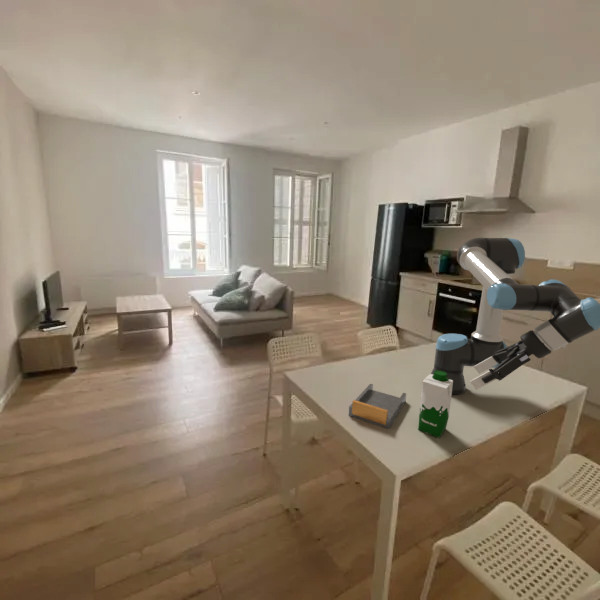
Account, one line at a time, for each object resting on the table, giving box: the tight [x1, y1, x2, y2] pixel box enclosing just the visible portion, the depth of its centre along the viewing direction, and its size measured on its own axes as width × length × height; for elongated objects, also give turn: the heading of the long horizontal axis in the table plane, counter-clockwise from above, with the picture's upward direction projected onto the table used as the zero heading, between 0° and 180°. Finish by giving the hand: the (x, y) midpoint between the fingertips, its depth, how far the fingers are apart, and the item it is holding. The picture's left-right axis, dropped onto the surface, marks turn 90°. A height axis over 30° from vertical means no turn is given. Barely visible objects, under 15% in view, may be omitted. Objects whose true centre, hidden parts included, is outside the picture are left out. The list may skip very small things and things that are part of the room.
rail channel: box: [348, 383, 407, 430], centre depth 122 cm, size 22×15×6 cm
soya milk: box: [417, 370, 453, 439], centre depth 108 cm, size 9×9×20 cm
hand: (474, 377), depth 100 cm, fingers open, 13 cm apart
